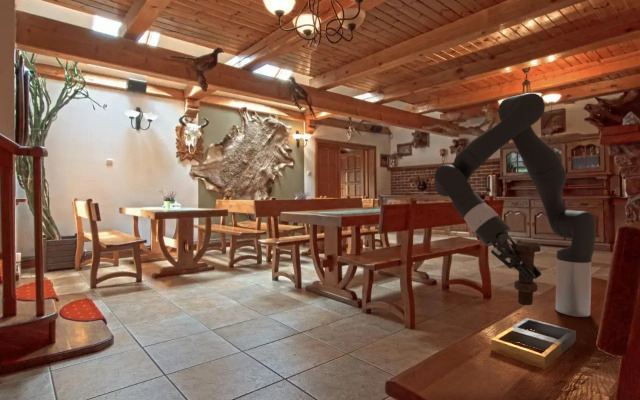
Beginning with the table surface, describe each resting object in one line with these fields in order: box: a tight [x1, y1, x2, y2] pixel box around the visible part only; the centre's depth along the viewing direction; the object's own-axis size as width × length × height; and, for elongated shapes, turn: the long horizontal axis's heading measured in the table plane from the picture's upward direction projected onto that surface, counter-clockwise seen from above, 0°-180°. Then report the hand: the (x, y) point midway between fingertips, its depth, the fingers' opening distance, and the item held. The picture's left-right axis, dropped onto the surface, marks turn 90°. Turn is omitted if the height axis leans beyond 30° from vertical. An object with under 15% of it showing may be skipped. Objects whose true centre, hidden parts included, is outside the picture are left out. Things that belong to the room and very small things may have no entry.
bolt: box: [514, 241, 541, 306], centre depth 87 cm, size 6×5×15 cm
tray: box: [490, 317, 577, 370], centre depth 92 cm, size 22×12×3 cm, turn 129°
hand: (535, 277), depth 86 cm, fingers closed on bolt, 3 cm apart
